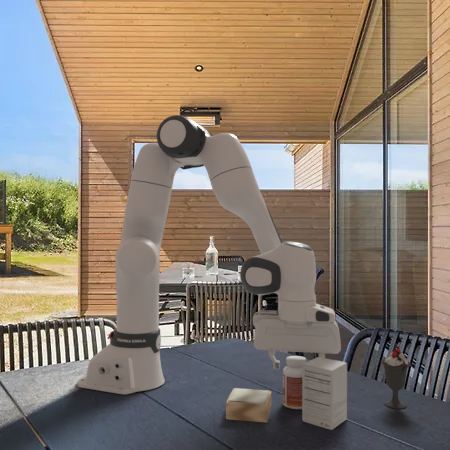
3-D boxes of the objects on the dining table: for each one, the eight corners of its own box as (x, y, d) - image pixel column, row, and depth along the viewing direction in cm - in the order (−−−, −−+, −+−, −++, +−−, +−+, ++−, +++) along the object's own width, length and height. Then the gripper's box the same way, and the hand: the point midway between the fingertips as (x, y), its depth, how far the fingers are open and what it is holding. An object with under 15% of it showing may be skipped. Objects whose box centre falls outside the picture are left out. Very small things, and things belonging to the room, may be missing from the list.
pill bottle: (314, 406, 116) (315, 359, 116) (294, 412, 112) (295, 363, 112) (296, 398, 121) (297, 353, 121) (277, 403, 117) (277, 357, 117)
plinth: (225, 419, 108) (226, 400, 108) (233, 404, 117) (233, 387, 117) (267, 422, 106) (267, 404, 106) (271, 407, 115) (271, 390, 115)
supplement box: (317, 411, 113) (318, 356, 113) (347, 420, 108) (348, 362, 108) (300, 421, 107) (301, 363, 107) (332, 431, 102) (332, 370, 102)
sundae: (391, 411, 113) (392, 346, 113) (375, 401, 119) (375, 339, 119) (416, 409, 115) (417, 344, 114) (398, 399, 121) (399, 337, 121)
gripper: (251, 311, 115) (250, 371, 115) (341, 315, 111) (341, 376, 112) (254, 307, 121) (254, 363, 122) (340, 310, 118) (340, 368, 118)
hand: (296, 369), depth 117 cm, fingers open, 8 cm apart
